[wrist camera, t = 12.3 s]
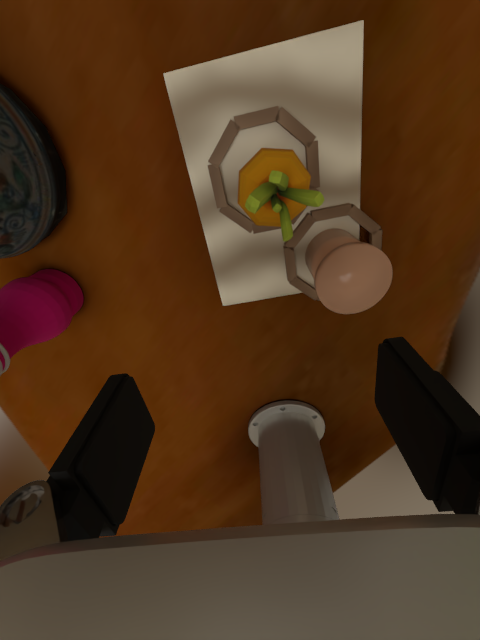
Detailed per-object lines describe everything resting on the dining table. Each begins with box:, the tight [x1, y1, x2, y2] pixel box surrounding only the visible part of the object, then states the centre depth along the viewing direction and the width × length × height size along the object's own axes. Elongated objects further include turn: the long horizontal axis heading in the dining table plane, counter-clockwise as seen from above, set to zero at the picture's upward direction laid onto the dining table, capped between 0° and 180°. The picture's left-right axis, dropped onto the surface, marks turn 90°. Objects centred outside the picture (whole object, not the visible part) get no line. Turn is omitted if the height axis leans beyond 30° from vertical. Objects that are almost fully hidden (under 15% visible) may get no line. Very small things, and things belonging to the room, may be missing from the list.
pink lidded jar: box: [305, 228, 393, 314], centre depth 28 cm, size 6×6×8 cm
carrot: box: [238, 148, 324, 242], centre depth 21 cm, size 5×5×15 cm
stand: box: [163, 20, 382, 306], centre depth 28 cm, size 23×18×2 cm
